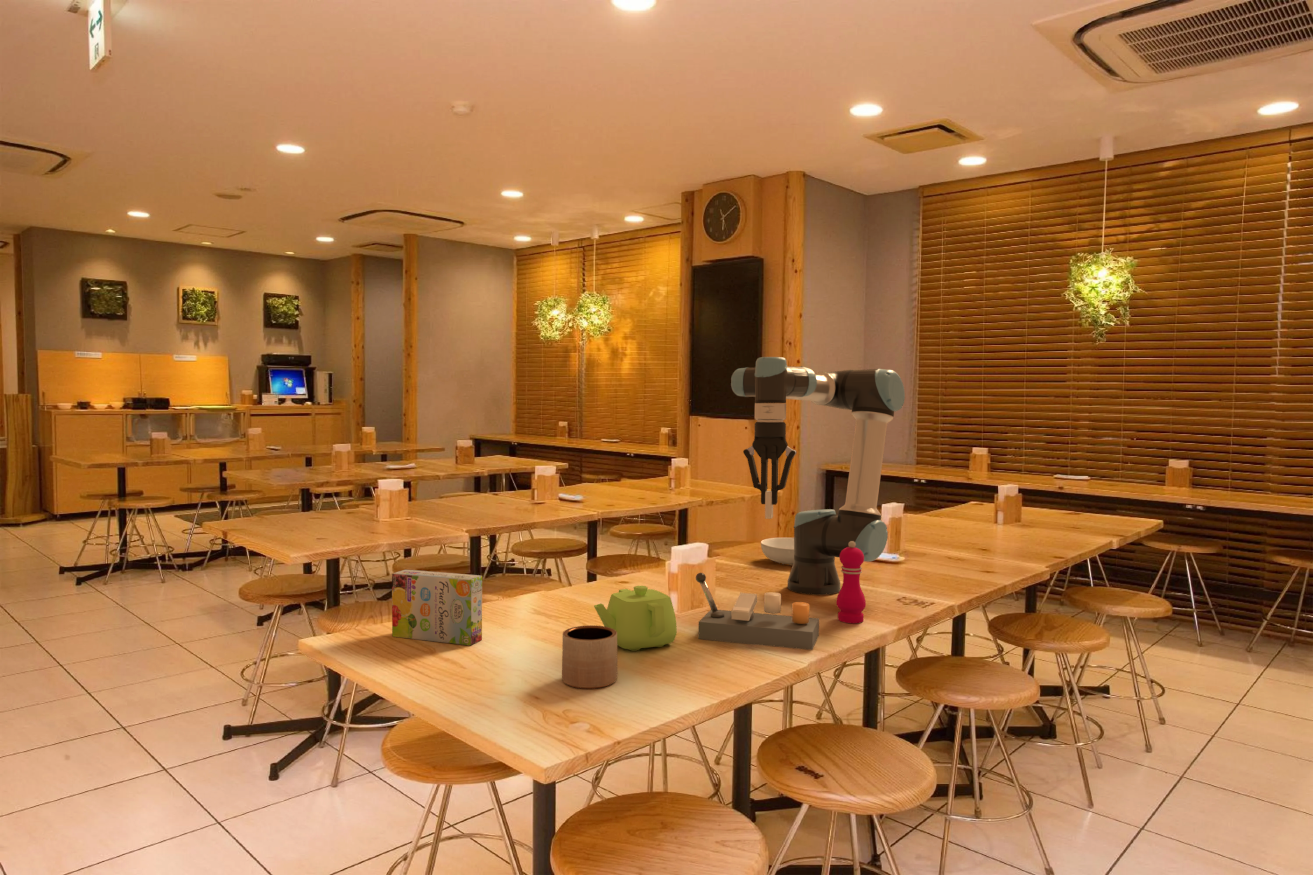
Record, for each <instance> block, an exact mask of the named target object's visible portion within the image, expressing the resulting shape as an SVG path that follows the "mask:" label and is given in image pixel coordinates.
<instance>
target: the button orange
mask: <svg viewBox="0 0 1313 875" xmlns="http://www.w3.org/2000/svg"><path fill="white" fill-rule="evenodd" d="M791 612H792V613H791V616H792V622H794V623H798V624H806V623H809V618H810V604H809V603H807V602H802V601H795V602H793V603H792V609H791Z"/></svg>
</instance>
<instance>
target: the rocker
mask: <svg viewBox="0 0 1313 875" xmlns="http://www.w3.org/2000/svg"><path fill="white" fill-rule="evenodd" d="M757 604H758V593H747V592H740V593H739V595H738V596H737V599H736V601H735V603H734V605H733V607H732V610H730V611H731V615H732V619H735V620H746V621H749V619H750V617H751V615H752V613H753V611H755V608H756V605H757Z"/></svg>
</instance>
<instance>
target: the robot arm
mask: <svg viewBox="0 0 1313 875" xmlns="http://www.w3.org/2000/svg"><path fill="white" fill-rule="evenodd" d="M787 364H788V361H787V359H786V358H785V357H782V356H781V357H780V356H762V357H758V358H757V359H756V361H755V367H748V366H747V367H741V368H737V369H735V370H734V372H732V375H731V378H730V380H731V383H730V386H731V387H730V388H731V390H732V392H733V393H734V394H735V395H736V396H737V397H744V398H749V397H751V398H752V397H753V398H754V420H756V421H755V422H754V433H753V434H754V435H753V436H754V438H753V441H752V444H751V445H750V446H749V447H747V448H745V449H743V455H744V456H745V458H746V460H747V463H748V464H747V465H748V468H749V472H750V476H751V482H752V486H753V488H754V489H757V490H759V491H760V503H761V505H765V506H764V519H766V520H767V519H769V520H770V519H773V518H774V506H776V505H777V504H778V501H779V500H778V494H779V493H778V492H779V491H781V490H784V489H785V488H786V485H787V481H788V479H789V478H788V477H789V473H790V470H791V467H792V461H793V459H794V457H795V456H796V455H797V450H795V449H792V448H791V447H789V446H788V445H789V444H788V442H787V439H786V438H787V437H786V436H787V434H786V433H787V424H786V422H785V420H786V419H787V400H796V401H797V400H798V401H808V402H811V403H813V404H815V405H818V406H824V407H825V406H826V407H830V408H835V409H839V410H840V409H841V410H847V411H851V416H852V417H853V418H854V419H855V424H854V425H855V426H854V432H853V434H854V435H853V442H852V448H851V449H852V450H851V455H850V456H851V458H850V464H849V465H850V466H849V473H848V481H847V488H846V495H845V503H844V504H843V505H842V506H841V507H840V508H839V509H838V513H836V510H835V509H831V508H829V509H828V508H827V509H826V508H825V509H813V510H811V509H810V510H805V511H804V510H802V511H800V512H797V513H796V514H795V516H794V522H793V523H794V525H793V528H794V529H793V532H794V533H793V538H794V563H793V565H791V566H792V567H791V569H790V573H789V576H788V578H787V589H788V590H789V591H792V592H793V593H798V594H804V595H812V596H813V595H817V596H818V595H819V596H820V595H822V596H823V595H833V594H837V593H839V592H840V590H841V580H840V577H839V574H838V570H837V567H836V565H835V564H836V562H835V559H836V558H839V557H840V553H841V551H842V550H843V549H844V548H847V547H849V545H848V544H849V542H850V541H854V542H855V544H856V546H855V548H858V549H860V550H861V551H862V552H863V555H864V562H867V563H868V562H874V561H876V560H877V559H878V558H879V557H880V556H881V555H882V553H883V552H884V550H885V548H886V545H887V543H888V542H887V541H888V537H889V536H888V533H889V532H888V527H887V525H886V523H885V522H884V521H882V520H881V519H882V514H881V513H880V511H879V509H878V499H879V490H880V483H881V476H882V468H883V460H884V452H885V444H886V434H887V427H888V424H889V423H890V422H891V421H893V420H894V416H895V412H898V411H900V410H902V408H903V406H904V404H905V398H906V397H905V395H906V393H905V387H904V383H903V380H902V378H901V377H900V375H899V374H898V372H896V371H895V370H893V369H885V368H871V369H870V368H869V369H846V370H845V369H844V370H836V371H835V370H834V371H827V372H826V371H819V372H816V373H815V371H813V369H812V368H809V367H805V366H802V365H801V366H788V365H787ZM784 452H785V456H786V458H785V461H784V465H783V469H782V473H781V477H780V480H779V459H780V458H781V457H782V455H783V454H784ZM755 453H756V454H757V456H758V457H759V458H760V478H759V475H758V474H759V473H758V470H757V464H756V460H755V456H754V455H755ZM769 460H770V462H771V463H770V464H771V480H770V481H771V482H770V484H771V486H770V488H771V489H770V490H768V489H769V487H768V482H769V481H768V480H769V479H768V478H769V477H768V473H769V472H768V471H769V470H768V468H769V465H768V464H769ZM837 514H838V515H837Z"/></svg>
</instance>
